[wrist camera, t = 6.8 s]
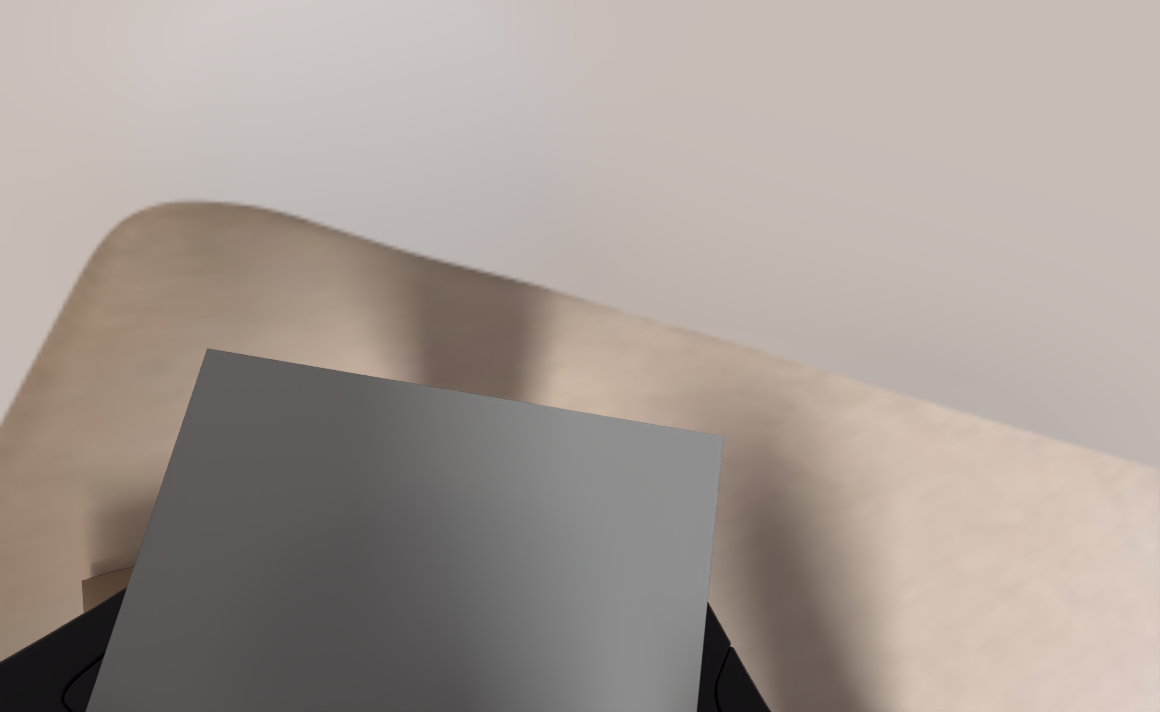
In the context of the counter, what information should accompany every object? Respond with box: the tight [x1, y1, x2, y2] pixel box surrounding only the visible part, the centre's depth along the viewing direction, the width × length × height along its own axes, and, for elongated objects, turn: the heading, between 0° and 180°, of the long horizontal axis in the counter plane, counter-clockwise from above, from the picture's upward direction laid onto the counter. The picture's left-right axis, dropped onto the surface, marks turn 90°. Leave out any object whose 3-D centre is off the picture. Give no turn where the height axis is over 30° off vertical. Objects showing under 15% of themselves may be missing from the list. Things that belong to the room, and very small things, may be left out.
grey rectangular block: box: [86, 349, 723, 712], centre depth 10 cm, size 5×5×12 cm
